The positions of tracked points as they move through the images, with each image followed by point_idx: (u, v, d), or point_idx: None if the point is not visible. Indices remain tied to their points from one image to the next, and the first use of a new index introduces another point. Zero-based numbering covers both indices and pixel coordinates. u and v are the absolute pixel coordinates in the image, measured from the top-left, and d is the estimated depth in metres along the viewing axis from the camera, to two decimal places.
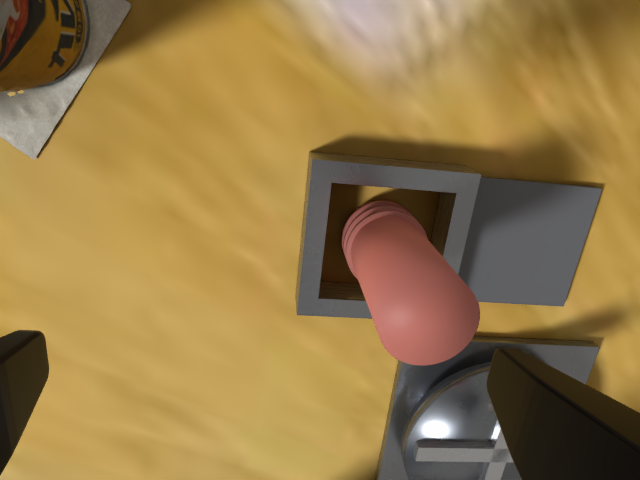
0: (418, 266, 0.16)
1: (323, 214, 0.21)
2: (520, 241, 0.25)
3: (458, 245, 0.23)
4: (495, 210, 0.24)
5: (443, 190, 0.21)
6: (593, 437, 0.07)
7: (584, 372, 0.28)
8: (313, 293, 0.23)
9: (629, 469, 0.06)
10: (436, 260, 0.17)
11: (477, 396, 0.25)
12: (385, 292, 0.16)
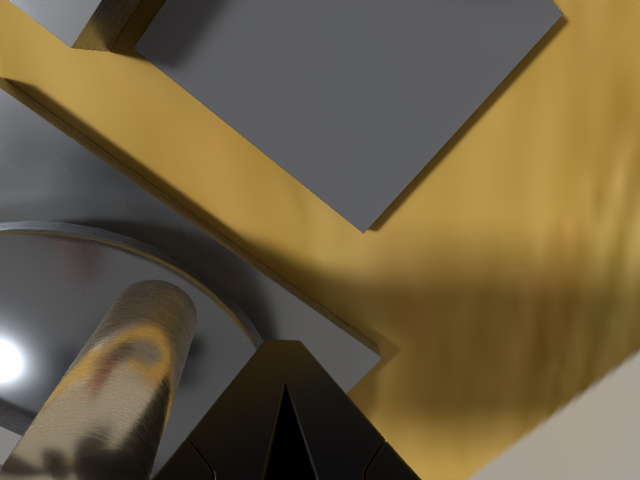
0: None
1: None
2: (356, 15, 0.10)
3: None
4: None
5: None
6: (294, 433, 0.06)
7: None
8: None
9: (303, 467, 0.06)
10: None
11: (52, 293, 0.10)
12: None
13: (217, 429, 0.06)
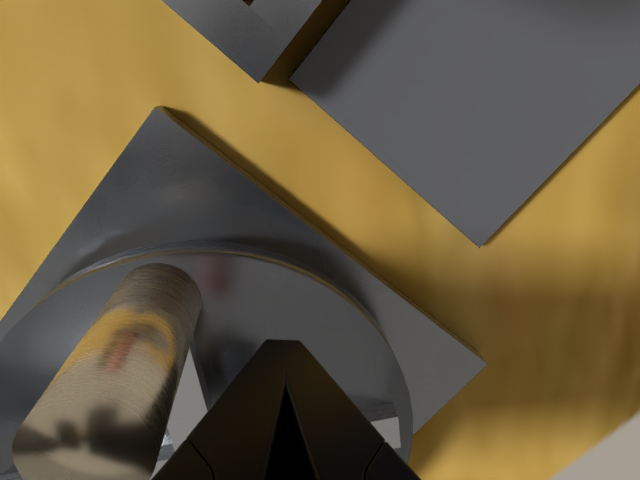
0: None
1: None
2: (491, 48, 0.11)
3: None
4: None
5: None
6: (293, 433, 0.06)
7: (437, 397, 0.14)
8: None
9: (303, 467, 0.06)
10: None
11: (78, 344, 0.10)
12: None
13: (217, 429, 0.06)
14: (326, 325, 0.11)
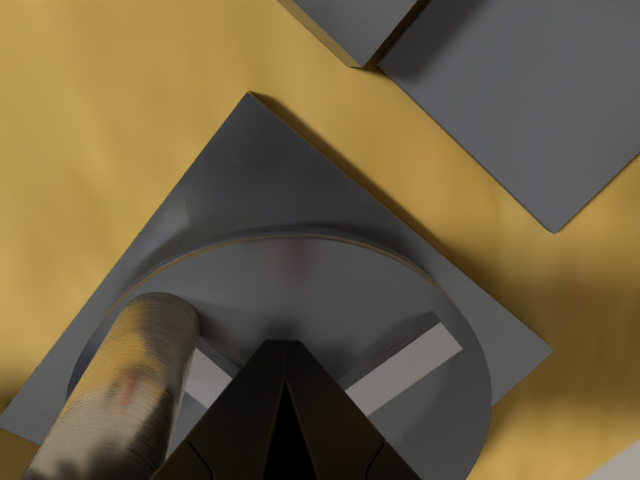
0: None
1: None
2: (580, 32, 0.11)
3: None
4: None
5: None
6: (295, 433, 0.06)
7: (504, 383, 0.15)
8: None
9: (304, 467, 0.06)
10: None
11: None
12: None
13: (216, 429, 0.06)
14: (319, 273, 0.10)
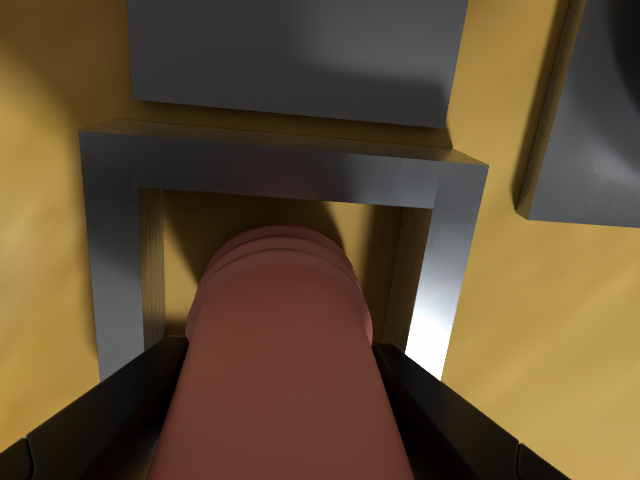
0: None
1: None
2: None
3: (274, 163, 0.09)
4: (209, 32, 0.09)
5: (136, 218, 0.09)
6: (422, 435, 0.06)
7: None
8: None
9: (444, 468, 0.06)
10: None
11: None
12: None
13: (62, 427, 0.06)
14: None
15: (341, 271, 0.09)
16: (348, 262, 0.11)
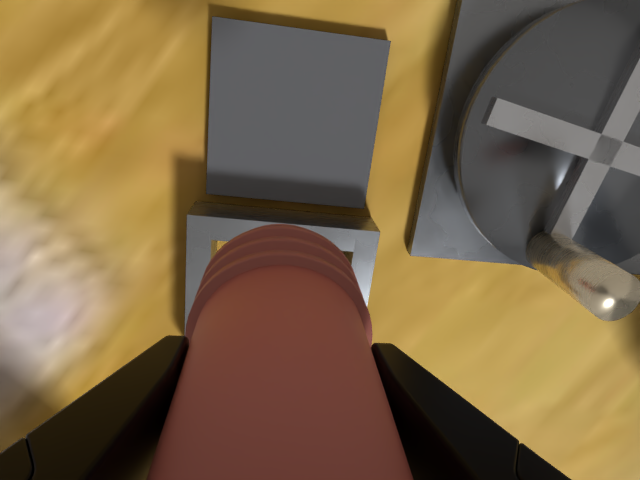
0: None
1: None
2: (287, 124, 0.19)
3: None
4: (246, 163, 0.19)
5: (209, 254, 0.19)
6: (422, 435, 0.06)
7: None
8: None
9: (444, 468, 0.06)
10: None
11: (594, 245, 0.20)
12: None
13: (62, 427, 0.06)
14: (485, 196, 0.18)
15: (341, 273, 0.09)
16: (348, 264, 0.11)
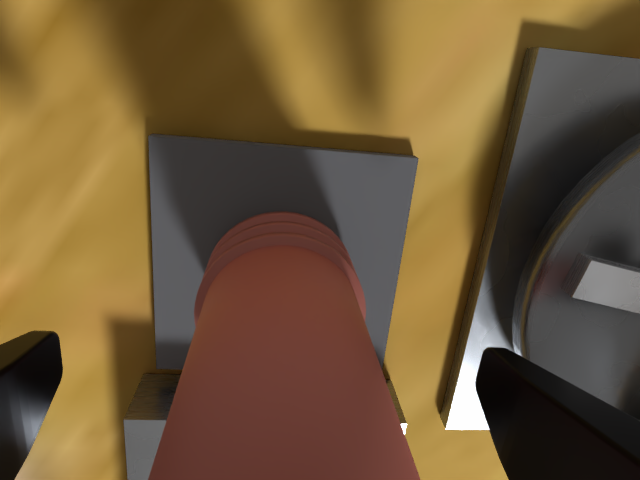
0: None
1: None
2: None
3: None
4: None
5: None
6: (577, 437, 0.07)
7: (603, 71, 0.12)
8: None
9: (612, 469, 0.06)
10: None
11: None
12: None
13: None
14: None
15: (337, 253, 0.10)
16: (344, 247, 0.12)
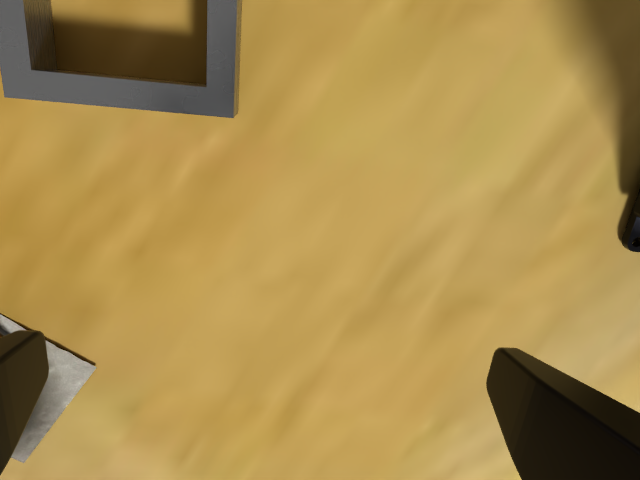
0: None
1: (78, 81, 0.16)
2: None
3: None
4: None
5: None
6: (593, 437, 0.07)
7: None
8: (198, 94, 0.17)
9: (629, 469, 0.06)
10: None
11: None
12: None
13: None
14: None
15: None
16: None
